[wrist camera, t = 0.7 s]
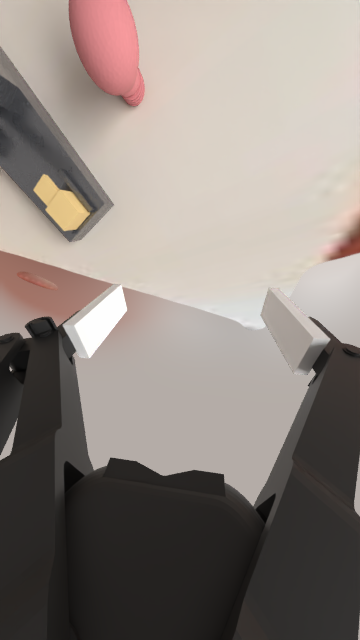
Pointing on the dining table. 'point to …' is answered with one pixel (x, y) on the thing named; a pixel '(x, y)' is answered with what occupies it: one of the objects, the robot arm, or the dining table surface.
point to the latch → (61, 204)
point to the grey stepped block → (42, 151)
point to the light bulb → (108, 46)
